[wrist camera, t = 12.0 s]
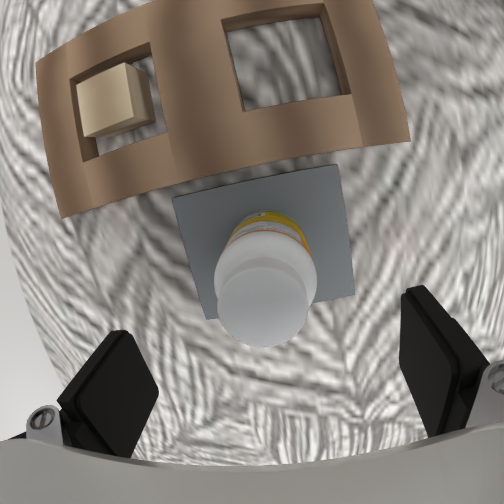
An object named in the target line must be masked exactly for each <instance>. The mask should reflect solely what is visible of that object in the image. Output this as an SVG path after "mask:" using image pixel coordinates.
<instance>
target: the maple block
mask: <svg viewBox="0 0 504 504" xmlns="http://www.w3.org/2000/svg"><path fill="white" fill-rule="evenodd" d="M76 87H77V95H78V102H79V109H80V115H81V121H82V127H83V133H84V137H114V136H116V135H119V134H121V133H124V132H127V131H130V130H132V129H135V128H138V127H141V126H144V125H147V124H150V123H153V122H156V118H155V113H154V108H153V102H152V97H151V92H150V87H149V81H148V75H147V74H146V73H144V72H142V71H140V70H138V69H137V68H135V67H133V66H131V65H129V64H127V63H125V62H124V63H122V64H119V65H117V66H115V67H113V68H110V69H108V70H106V71H104V72H102V73H100V74H97V75H95V76H93V77H91V78H89V79H87V80H85V81H83V82H81V83H79V84H77V85H76Z"/></svg>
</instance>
